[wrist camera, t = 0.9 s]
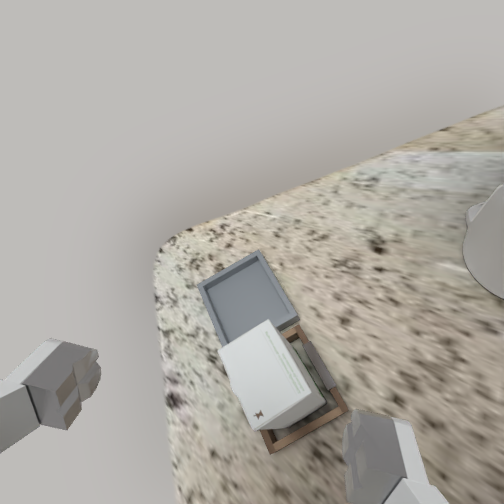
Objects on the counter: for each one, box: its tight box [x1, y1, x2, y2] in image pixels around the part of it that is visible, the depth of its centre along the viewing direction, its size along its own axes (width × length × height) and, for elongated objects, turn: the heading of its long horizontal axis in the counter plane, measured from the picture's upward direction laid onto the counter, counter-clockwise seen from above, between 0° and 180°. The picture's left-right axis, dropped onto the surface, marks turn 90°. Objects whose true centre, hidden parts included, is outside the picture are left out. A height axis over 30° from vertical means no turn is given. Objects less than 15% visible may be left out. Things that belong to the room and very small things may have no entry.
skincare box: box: [218, 319, 327, 431], centre depth 35 cm, size 8×7×16 cm
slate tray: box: [197, 250, 300, 347], centre depth 48 cm, size 12×13×2 cm
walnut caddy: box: [257, 325, 348, 454], centre depth 40 cm, size 11×12×4 cm
